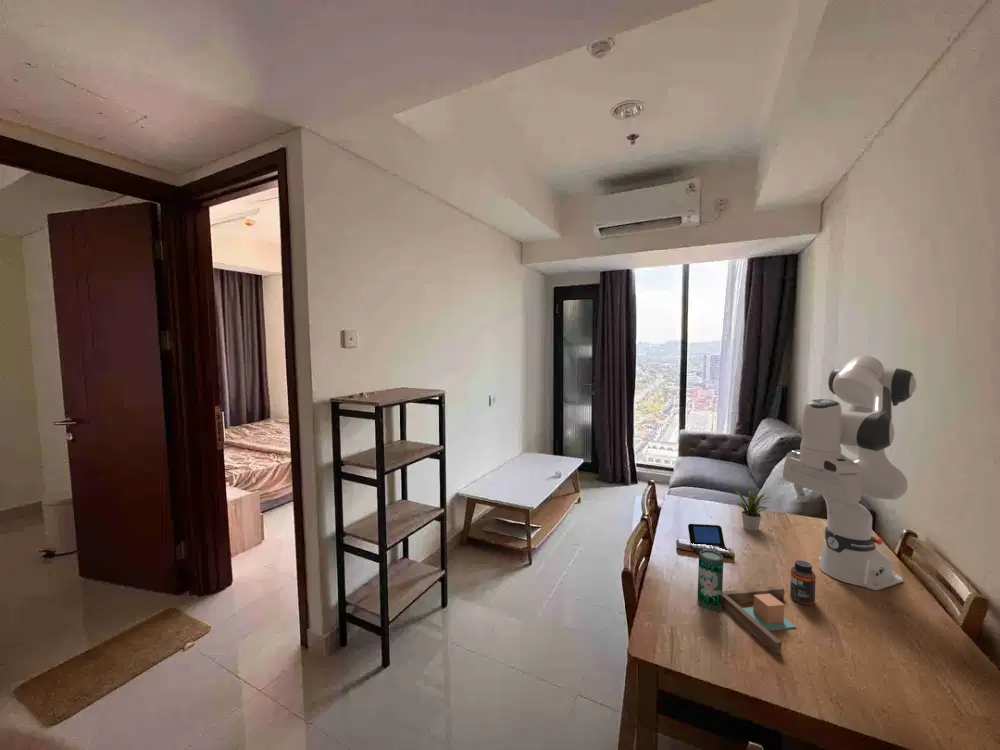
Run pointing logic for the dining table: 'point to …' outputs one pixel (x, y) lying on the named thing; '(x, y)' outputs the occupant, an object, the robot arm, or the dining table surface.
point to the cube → (768, 608)
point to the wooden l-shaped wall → (747, 620)
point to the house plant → (751, 511)
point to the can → (710, 580)
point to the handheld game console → (706, 536)
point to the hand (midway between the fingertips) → (817, 506)
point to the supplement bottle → (802, 583)
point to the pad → (772, 626)
